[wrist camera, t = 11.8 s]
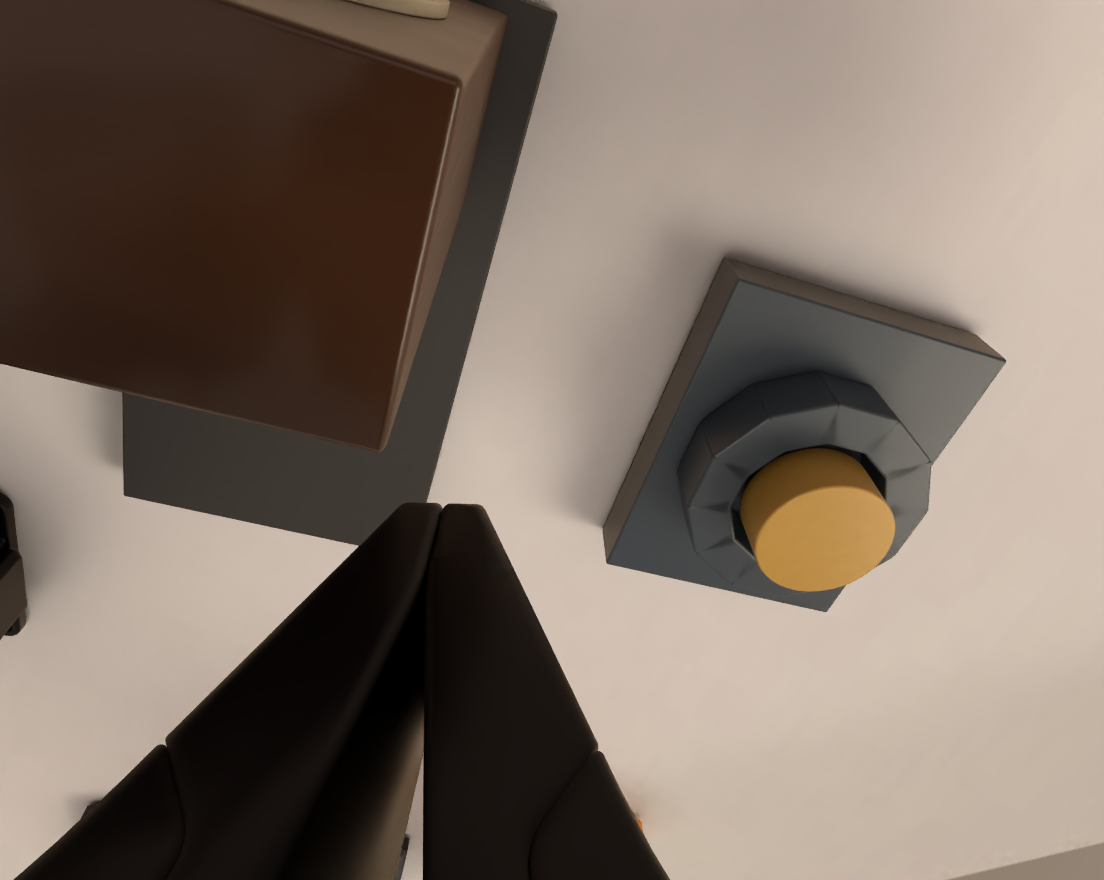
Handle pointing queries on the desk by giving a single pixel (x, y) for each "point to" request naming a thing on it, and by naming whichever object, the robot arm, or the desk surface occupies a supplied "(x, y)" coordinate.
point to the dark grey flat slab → (420, 423)
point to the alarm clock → (236, 197)
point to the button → (816, 520)
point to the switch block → (788, 421)
